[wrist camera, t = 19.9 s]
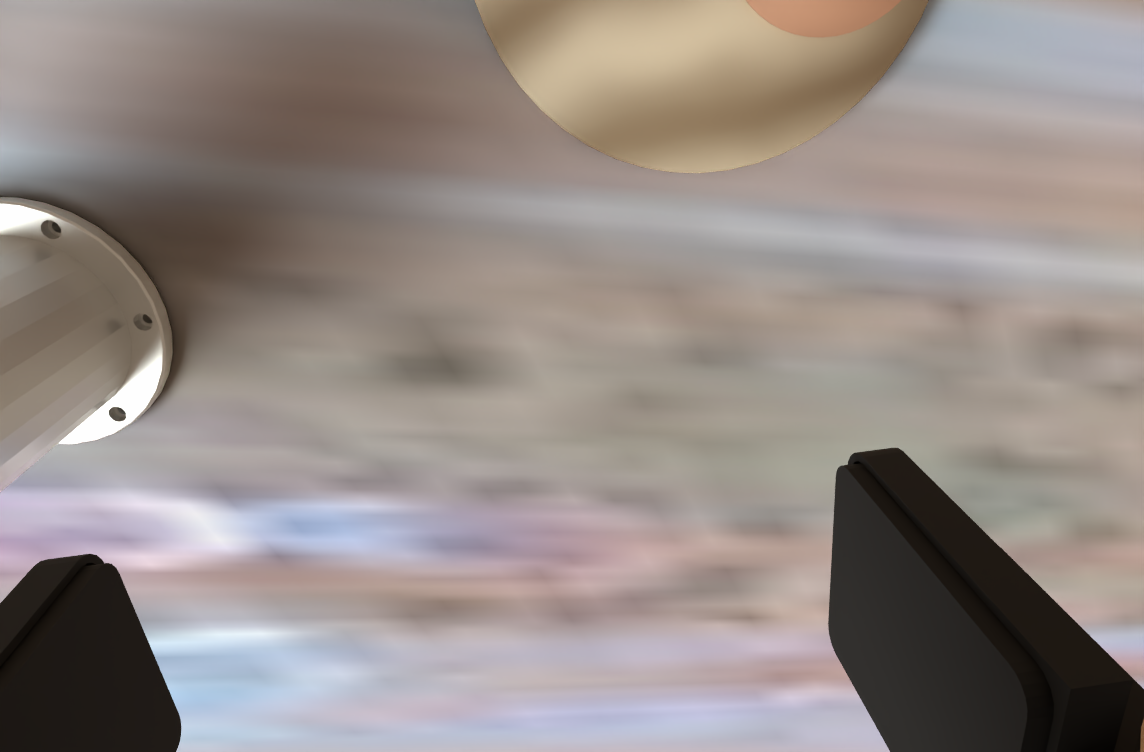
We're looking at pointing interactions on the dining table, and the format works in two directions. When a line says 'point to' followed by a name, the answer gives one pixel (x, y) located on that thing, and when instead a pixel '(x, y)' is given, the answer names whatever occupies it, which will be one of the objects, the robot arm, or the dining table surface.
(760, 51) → the turntable
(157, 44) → the dining table surface
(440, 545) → the dining table surface
